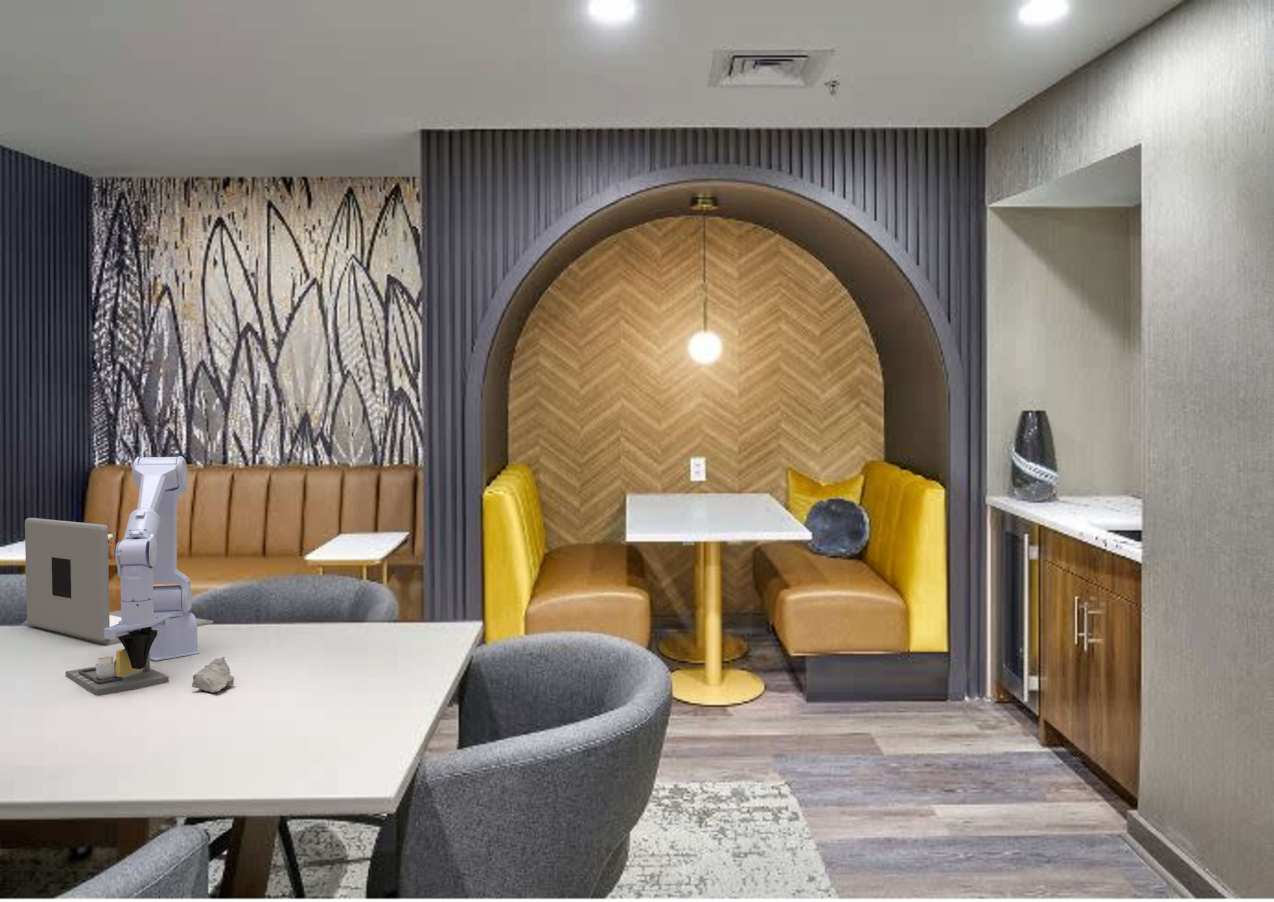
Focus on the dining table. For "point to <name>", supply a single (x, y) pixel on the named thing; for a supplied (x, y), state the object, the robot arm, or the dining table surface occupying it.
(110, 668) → the fader knob
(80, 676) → the console
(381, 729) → the dining table surface
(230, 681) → the stone
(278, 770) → the dining table surface
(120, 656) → the door
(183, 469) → the robot arm
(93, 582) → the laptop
